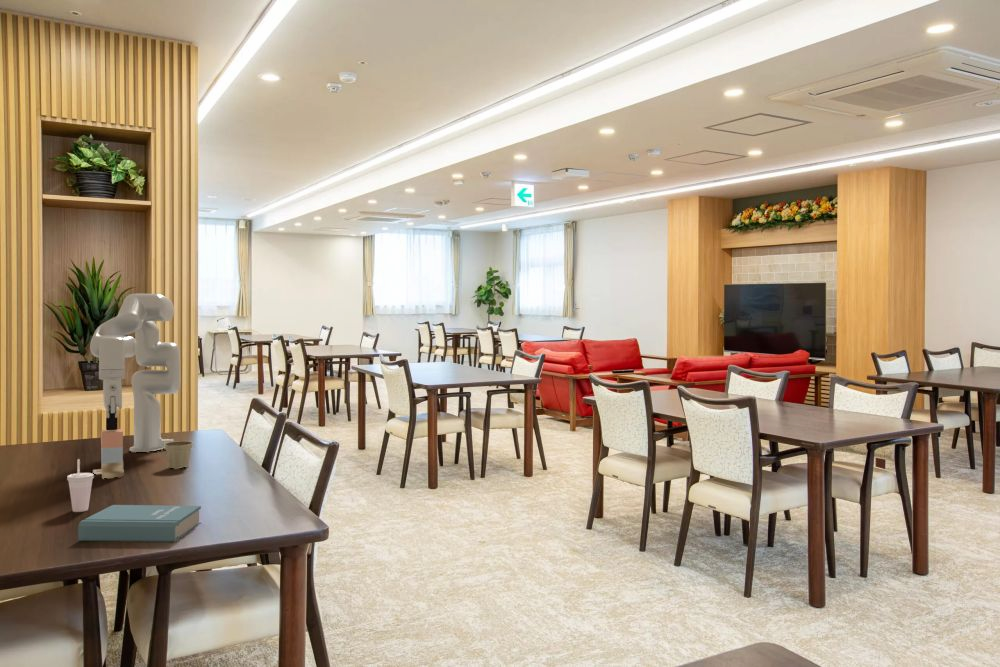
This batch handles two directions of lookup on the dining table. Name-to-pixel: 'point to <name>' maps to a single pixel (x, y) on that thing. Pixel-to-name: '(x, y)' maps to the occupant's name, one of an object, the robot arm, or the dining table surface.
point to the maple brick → (111, 470)
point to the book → (139, 523)
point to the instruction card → (98, 471)
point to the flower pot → (178, 453)
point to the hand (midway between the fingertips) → (111, 429)
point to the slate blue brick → (112, 455)
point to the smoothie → (80, 489)
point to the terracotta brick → (111, 438)
